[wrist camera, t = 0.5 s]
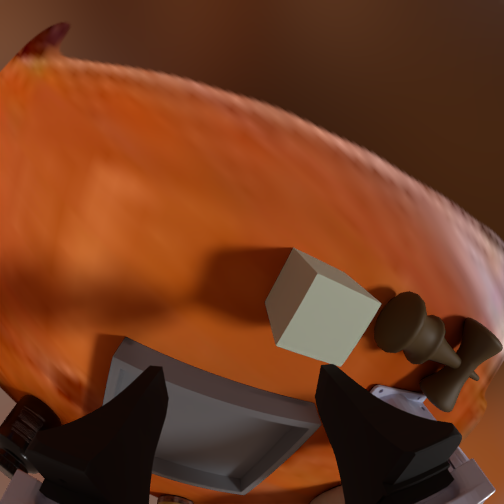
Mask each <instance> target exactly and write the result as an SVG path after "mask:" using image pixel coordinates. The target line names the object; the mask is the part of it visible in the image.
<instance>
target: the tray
mask: <svg viewBox="0 0 504 504" xmlns="http://www.w3.org/2000/svg"><path fill="white" fill-rule="evenodd" d="M150 365H151V366H162V367H163V372H164V377H165V382H166V387H167V392H168V397H169V401H168V408H167V414H166V418H165V422H164V425H163V428H162V432H161V435H160V438H159V441H158V445H157V448H156V451H155V456H154V460H153V467H152V474H155V475H158V476H161V477H164V478H168V479H171V480H174V481H178V482H181V483H185V484H189V485H193V486H197V487H202V488H206V489H211V490H216V491H221V492H227V493H233V494H239V495H245V494H247V493H248V492H249V491H251V490H252V489H253V488H254V487H256V486H257V485H258V484H259V483H261V482H262V481H263V480H264V479H265V478H267V477H268V476H269V475H270V474H271V473H272V472H274V471H275V470H276V469H277V468H278V467H279V466H280V465H281V464H283V463H284V462H285V461H286V460H287V459H288V458H289V457H290V456H291V455H292V454H293V453H294V452H295V451H296V450H297V449H298V448H300V447H301V446H302V445H303V444H304V443H305V442H306V441H307V439H308V438H309V437H310V436H311V435H312V434H313V433H314V432H315V431H316V430H317V429H318V428H319V427H320V426H321V425H322V424H321V421H320V419H319V416H318V413H317V410H316V407H315V405H314V403H312V402H307V401H303V400H299V399H294V398H290V397H287V396H283V395H279V394H275V393H272V392H268V391H264V390H261V389H258V388H254V387H251V386H248V385H244V384H241V383H238V382H235V381H232V380H229V379H226V378H223V377H220V376H218V375H215V374H212V373H209V372H206V371H204V370H201V369H198V368H196V367H193V366H191V365H188V364H186V363H183V362H181V361H178V360H176V359H173V358H171V357H169V356H166V355H164V354H162V353H159V352H157V351H155V350H153V349H151V348H148V347H146V346H144V345H142V344H140V343H138V342H136V341H133V340H131V339H129V338H127V337H125V338H124V340H123V342H122V343H121V345H120V346H119V348H118V349H117V351H116V352H115V354H114V355H113V358H112V362H111V366H110V371H109V375H108V380H107V385H106V390H105V395H104V400H103V405H105V404H106V403H108V402H109V401H110V400H112V399H113V398H114V397H115V396H117V395H118V394H119V393H120V392H122V391H123V390H124V389H125V388H126V387H127V386H128V385H130V384H131V383H132V382H133V381H134V380H135V379H136V378H137V377H138V376H139V375H140V374H141V373H142V372H143V371H144V370H145V369H147V368H148V367H149V366H150Z"/></svg>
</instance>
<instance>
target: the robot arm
mask: <svg viewBox="0 0 504 504" xmlns="http://www.w3.org/2000/svg"><path fill="white" fill-rule="evenodd" d="M315 399H316V404H317V408H318V412H319V415H320V418H321V420H322V423H323V426H324V428H325V431H326V433H327V436H328V438H329V441H330V443H331V445H332V448H333V451H334V454H335V457H336V461H337V465H338V469H339V473H340V478H341V483H342V488H343V494H344V499H345V504H483V503H484V501H485V500H486V499H487V498H488V497H489V496H491V495H492V494H493V493H494V492H495V488H494V487H493V485H492V484H491V483H490V481H489V480H488V478H487V477H486V476H485V474H484V473H483V472H482V470H481V469H480V467H479V466H478V465H477V463H476V462H475V460H474V459H470V460H469V459H468V458H467V456H466V455H465V454H464V452H463V451H462V450H461V449H460V448H459V444H460V442H461V439H462V435H461V434H460V433H459V431H458V430H457V429H456V428H455V426H454V425H453V424H452V423H448V422H441V421H436V419H435V418H434V417H433V416H432V414H431V413H430V412H429V410H428V409H427V408H426V407H425V405H424V404H423V402H424V400H425V399H426V396H425V395H424V394H422V393H417V392H411V391H406V390H401V389H396V388H392V387H387V386H382V385H376V386H374V387H373V389H372V390H371V391H370V392H369V391H367V390H366V389H364V388H363V387H362V386H360V385H359V384H358V383H356V382H355V381H354V380H353V379H351V378H350V377H349V376H348V375H346V374H345V373H344V372H343V371H342V370H340V369H339V368H338V367H337V366H336V365H334V364H328V365H321V368H320V374H319V379H318V384H317V389H316V394H315ZM168 401H169V397H168V392H167V387H166V382H165V377H164V372H163V367H162V366H151V365H150V366H149V367H148V368H147V369H145V370H144V371H143V372H142V373H141V374H140V375H139V376H138V377H137V378H136V379H135V380H134V381H133V382H132V383H131V384H130V385H128V386H127V387H126V388H125V389H124V390H123V391H122V392H120V393H119V394H118V395H117V396H115V397H114V398H113V399H112V400H110V401H109V402H108V403H106V404H105V405H103V406H102V407H100V408H98V409H97V410H95V411H93V412H92V413H90V414H88V415H86V416H84V417H82V418H80V419H78V420H75V421H73V422H70V423H68V424H65V425H62V426H59V427H55V428H51V429H47V430H42V431H37V433H36V434H35V436H34V437H33V439H32V441H31V442H30V444H29V445H28V447H27V449H26V450H25V454H26V456H27V458H28V460H29V461H30V463H31V464H32V465H33V466H34V467H35V468H36V470H37V471H38V472H39V473H40V474H41V475H42V476H43V477H44V478H45V479H44V481H43V483H41V482H40V481H39V480H37V479H36V478H34V477H32V476H30V475H28V474H27V473H25V472H23V471H21V470H20V469H17V470H16V472H15V474H14V476H13V478H12V479H11V481H10V483H9V485H8V487H7V489H6V491H5V493H4V495H3V497H2V499H1V501H0V504H149V493H150V483H151V474H152V467H153V460H154V456H155V451H156V448H157V445H158V441H159V438H160V435H161V432H162V428H163V425H164V422H165V418H166V414H167V408H168Z"/></svg>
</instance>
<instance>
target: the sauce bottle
mask: <svg viewBox="0 0 504 504" xmlns="http://www.w3.org/2000/svg"><path fill="white" fill-rule="evenodd" d="M157 504H194V503H193V502H192V501H190V500H187V499H185V498H182V497H178V496H173V495H165V496H161V497H159V498H158V501H157Z"/></svg>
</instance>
